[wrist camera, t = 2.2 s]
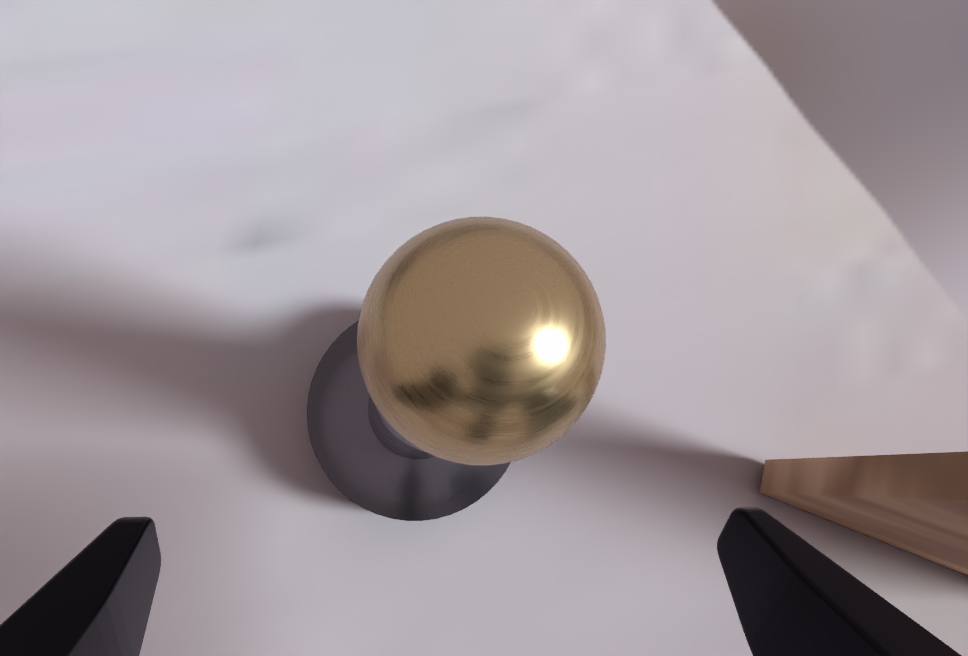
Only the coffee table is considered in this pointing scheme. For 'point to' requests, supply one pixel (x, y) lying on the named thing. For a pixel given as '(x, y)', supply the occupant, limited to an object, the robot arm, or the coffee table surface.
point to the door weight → (456, 368)
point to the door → (884, 498)
